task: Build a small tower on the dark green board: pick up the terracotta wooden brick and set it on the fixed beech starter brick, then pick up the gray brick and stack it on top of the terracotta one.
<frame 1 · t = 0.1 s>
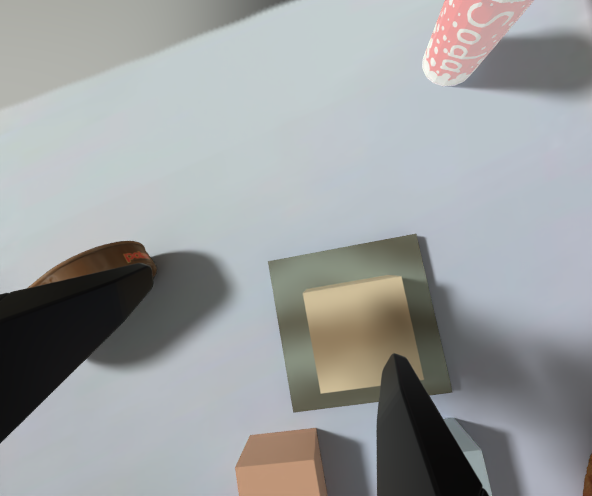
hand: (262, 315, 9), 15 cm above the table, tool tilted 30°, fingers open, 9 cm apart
beverage cup: (447, 64, 24), on the table
terracotta brick: (288, 466, 23), on the table
build board: (353, 320, 23), on the table
gray brick: (429, 451, 22), on the table
tin: (114, 301, 26), on the table
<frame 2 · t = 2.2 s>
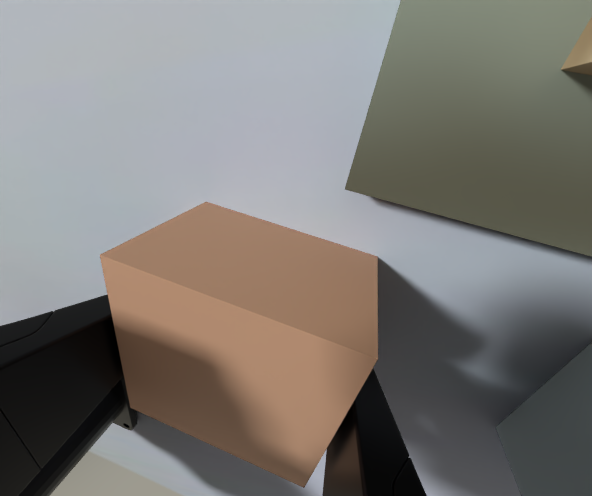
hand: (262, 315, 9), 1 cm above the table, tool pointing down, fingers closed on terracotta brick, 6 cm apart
terracotta brick: (272, 296, 10), on the table, touching gripper
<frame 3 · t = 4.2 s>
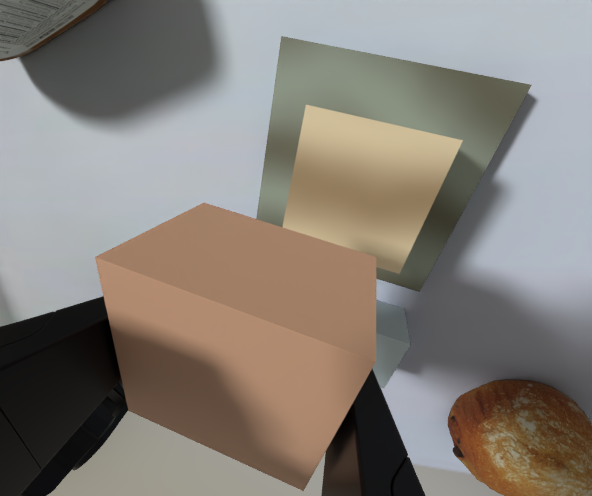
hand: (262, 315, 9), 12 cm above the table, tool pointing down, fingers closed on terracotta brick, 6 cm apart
terracotta brick: (271, 297, 10), point 11 cm above the table, touching gripper
build board: (360, 178, 17), on the table
gray brick: (363, 319, 23), on the table
tin: (62, 16, 18), on the table
bread roll: (506, 414, 23), on the table
when the fingers open (7 cm above the table, at t = 5.9 s): terracotta brick stays where it is, resting on build board.
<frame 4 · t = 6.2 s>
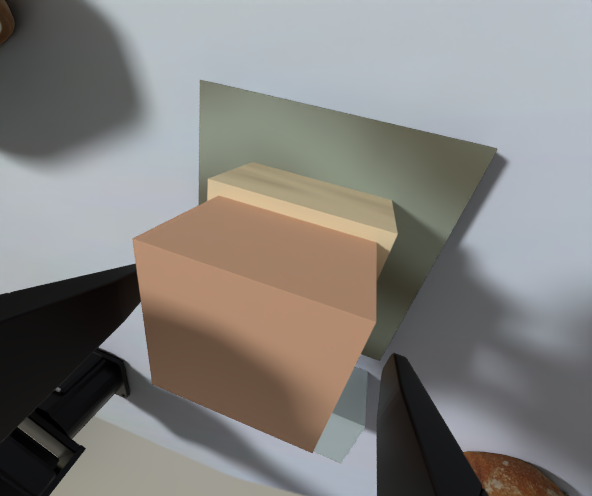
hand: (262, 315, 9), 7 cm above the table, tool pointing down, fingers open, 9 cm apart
terracotta brick: (280, 283, 11), point 5 cm above the table, touching build board
build board: (308, 235, 15), on the table
gray brick: (325, 377, 20), on the table
bread roll: (482, 483, 21), on the table
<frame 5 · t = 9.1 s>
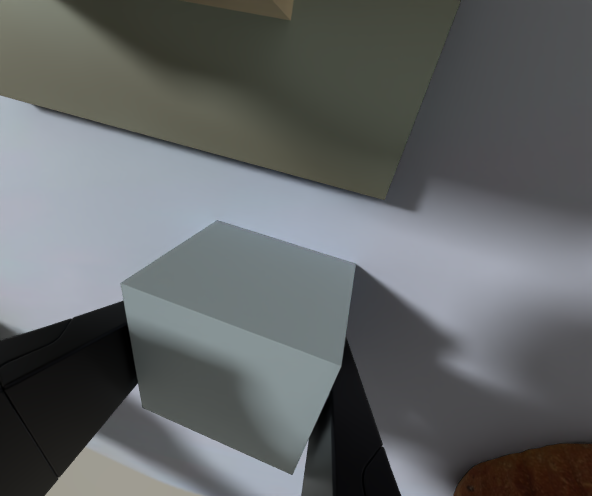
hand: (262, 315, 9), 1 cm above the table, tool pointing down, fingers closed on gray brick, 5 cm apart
gray brick: (272, 297, 10), on the table, touching gripper
when the fingers open (11 cm above the table, at t = 12.1 s): gray brick stays where it is, resting on terracotta brick.
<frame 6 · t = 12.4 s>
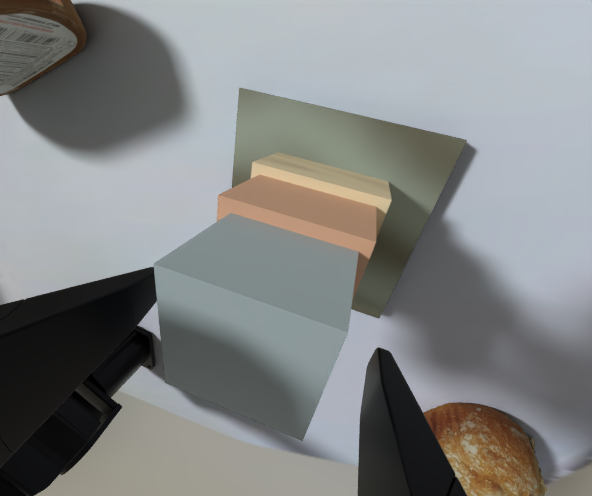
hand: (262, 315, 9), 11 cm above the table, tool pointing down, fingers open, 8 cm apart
terracotta brick: (303, 242, 14), point 5 cm above the table, touching gray brick, build board
build board: (320, 213, 18), on the table
gray brick: (281, 284, 11), point 9 cm above the table, touching terracotta brick
tin: (44, 58, 19), on the table
bread roll: (462, 433, 25), on the table
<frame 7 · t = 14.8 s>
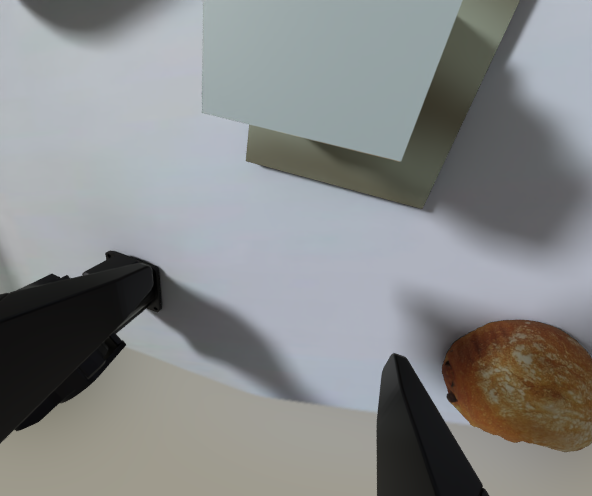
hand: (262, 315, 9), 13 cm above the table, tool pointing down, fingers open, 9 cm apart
build board: (358, 78, 16), on the table
gray brick: (343, 45, 8), point 9 cm above the table, touching terracotta brick
bread roll: (503, 361, 23), on the table
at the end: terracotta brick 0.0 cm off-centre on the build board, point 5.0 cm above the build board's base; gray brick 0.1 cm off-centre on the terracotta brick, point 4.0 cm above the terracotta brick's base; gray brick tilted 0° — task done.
